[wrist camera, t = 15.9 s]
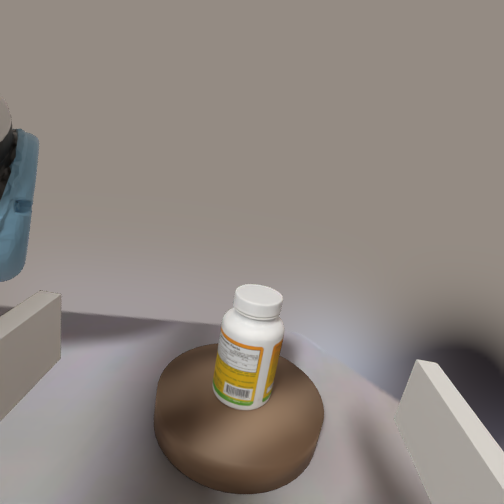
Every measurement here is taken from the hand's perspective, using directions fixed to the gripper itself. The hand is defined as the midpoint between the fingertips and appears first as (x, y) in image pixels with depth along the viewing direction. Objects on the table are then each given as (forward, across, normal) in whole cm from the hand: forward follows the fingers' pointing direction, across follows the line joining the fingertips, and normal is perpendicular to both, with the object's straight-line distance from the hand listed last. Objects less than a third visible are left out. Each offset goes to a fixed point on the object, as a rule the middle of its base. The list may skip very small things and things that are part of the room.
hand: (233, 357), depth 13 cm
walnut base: (+15, +2, -17) cm, 23 cm away
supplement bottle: (+15, +1, -14) cm, 21 cm away
